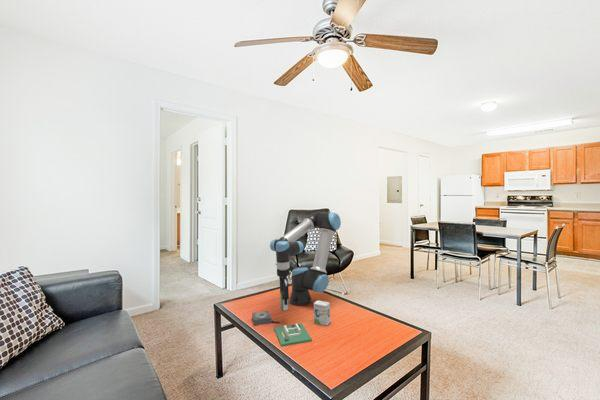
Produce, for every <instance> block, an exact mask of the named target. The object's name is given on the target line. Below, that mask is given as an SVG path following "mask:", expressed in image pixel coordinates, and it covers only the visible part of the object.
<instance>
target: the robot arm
mask: <svg viewBox="0 0 600 400" xmlns="http://www.w3.org/2000/svg"><path fill="white" fill-rule="evenodd" d="M341 223H342V222H341V216H339V214H338V213H336V212H332V211H329V212H326V211H325V212H324V211H317V212H314V213H311V214H310V215H308V216H306V217H305V218H303V220H302V222H300V223H299V224H297V225H296V226H294V227H293V228H292V229H291V230H289V231H288V232H287V233H285V234H283V236H281V237H280V238H276V239H272V240H271V241H270V244H269V249H270V250H271V251H273V252H275V256H276V257H275V258H276V263H275V265H276V275H277V277H278V279H279V292H280V291H283V298H282V300H283V310H286V311H289V310H288V299H289V304H290V305H293V306H297V307H298V306H299V307H300V306H301V307H303V306H307V305H309V304H311V303H312V297H311V292H310V291H313V292H315V293H323V292H324V291H326V290H327V287H328V286H329V282H330V280H329V276H328V275H327V273H328V272H327V270H326V267H327V263H328V262H327V261H328V258H329V254H330V248H331V245H332V244H331V243H332V239H333V235H335V234H336V232H337V231H338V230H339V229H340V228H341ZM314 229H318V231H319V232H320V233H319V237H318V242H317V246H316V251H315V255H314V259H313V263H312V267H310V268H309V267H306V266H305V267H297V268H293V269H292V270H290V269H291V268H290V267H291V264H290V257H292V256H296V255H299V254H301V253H302V252H303V251H304V248H305V247H304V244H303V242H302V241H300V240H299V239H300V238H301V237H303V235H305V234H306V233H308V232H309V231H313V230H314ZM290 275H291V292H289V279H288V277H289V276H290ZM289 293H290V296H289Z"/></svg>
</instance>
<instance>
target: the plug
mask: <svg viewBox="0 0 600 400" xmlns="http://www.w3.org/2000/svg"><path fill="white" fill-rule="evenodd" d="M282 298H283V291H280V290H279V301H280V309H281V310H280V311H282V312H285V311H289V310H290V306H289V305H290V298H289V299H288V310H283V300H282Z"/></svg>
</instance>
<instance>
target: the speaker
mask: <svg viewBox="0 0 600 400" xmlns="http://www.w3.org/2000/svg"><path fill="white" fill-rule="evenodd" d="M251 316H252V318H253V319H252V318H251V319H252V322H253V325H254V326H260V325H259V324H261V325H265V324H267V325H268V324H272V323H273V322H272V321H273V320H272V319H273V318H272V316H271V314H270V312H269V310H266V311H259V312H252V313H251Z"/></svg>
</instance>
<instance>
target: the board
mask: <svg viewBox="0 0 600 400" xmlns="http://www.w3.org/2000/svg"><path fill="white" fill-rule="evenodd" d="M274 332H275V334H276V337H277V339H278V341H279V344H280V346H281V347H286V346H292V345H297V344H304V343H307V342H308V343H309V342H312V341H313V338H312V337H311V335H310V334H309V332H308V331H307V329H306V327H305V326H304V324H303V323H302V322H301V323H294V324H289V325H283V326H275V327H274Z"/></svg>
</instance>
